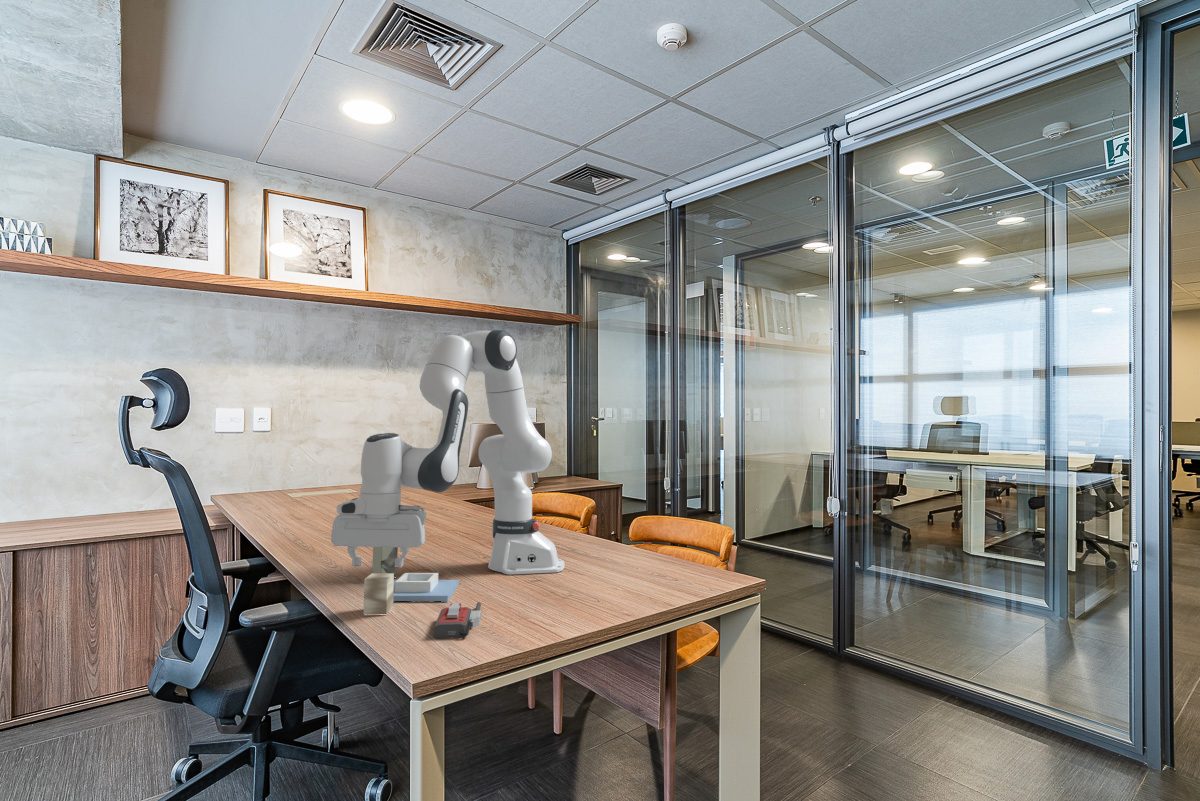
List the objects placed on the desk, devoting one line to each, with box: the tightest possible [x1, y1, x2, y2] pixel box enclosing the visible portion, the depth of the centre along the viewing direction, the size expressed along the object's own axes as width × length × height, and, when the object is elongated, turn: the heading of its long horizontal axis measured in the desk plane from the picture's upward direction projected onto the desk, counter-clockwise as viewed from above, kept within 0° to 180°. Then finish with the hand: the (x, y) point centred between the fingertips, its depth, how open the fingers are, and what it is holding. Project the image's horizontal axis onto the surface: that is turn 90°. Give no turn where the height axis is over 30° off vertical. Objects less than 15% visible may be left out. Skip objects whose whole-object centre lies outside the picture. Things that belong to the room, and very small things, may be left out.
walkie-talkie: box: [433, 602, 482, 639], centre depth 130 cm, size 9×4×20 cm
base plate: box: [393, 572, 460, 603], centre depth 151 cm, size 18×14×4 cm
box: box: [371, 547, 399, 578], centre depth 163 cm, size 5×4×13 cm
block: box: [363, 572, 395, 615], centre depth 136 cm, size 5×5×8 cm
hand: (377, 566), depth 136 cm, fingers open, 8 cm apart
